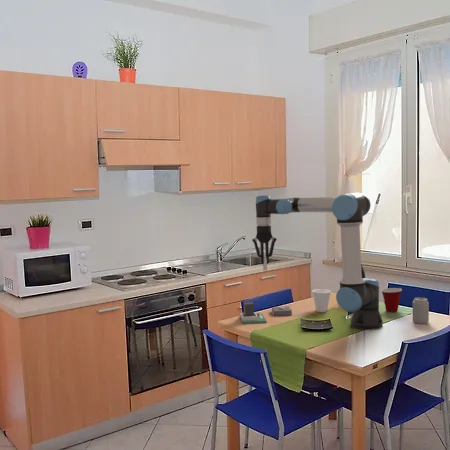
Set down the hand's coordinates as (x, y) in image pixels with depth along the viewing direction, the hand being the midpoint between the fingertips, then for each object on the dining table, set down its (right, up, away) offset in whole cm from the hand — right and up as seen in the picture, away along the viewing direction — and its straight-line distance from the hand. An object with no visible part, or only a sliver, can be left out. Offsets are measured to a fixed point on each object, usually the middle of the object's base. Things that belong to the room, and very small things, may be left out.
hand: (265, 270), depth 284 cm
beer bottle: (+54, -21, +25) cm, 63 cm away
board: (-7, -25, -5) cm, 27 cm away
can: (+75, -25, -17) cm, 81 cm away
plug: (-9, -24, -6) cm, 27 cm away
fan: (+9, -24, +7) cm, 26 cm away
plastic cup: (+68, -23, +5) cm, 72 cm away
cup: (+31, -23, +9) cm, 40 cm away
